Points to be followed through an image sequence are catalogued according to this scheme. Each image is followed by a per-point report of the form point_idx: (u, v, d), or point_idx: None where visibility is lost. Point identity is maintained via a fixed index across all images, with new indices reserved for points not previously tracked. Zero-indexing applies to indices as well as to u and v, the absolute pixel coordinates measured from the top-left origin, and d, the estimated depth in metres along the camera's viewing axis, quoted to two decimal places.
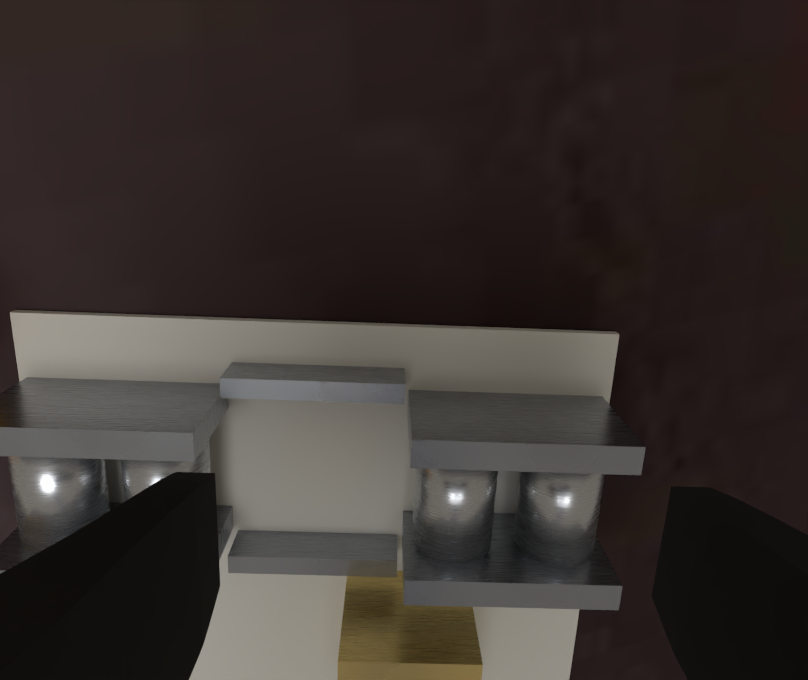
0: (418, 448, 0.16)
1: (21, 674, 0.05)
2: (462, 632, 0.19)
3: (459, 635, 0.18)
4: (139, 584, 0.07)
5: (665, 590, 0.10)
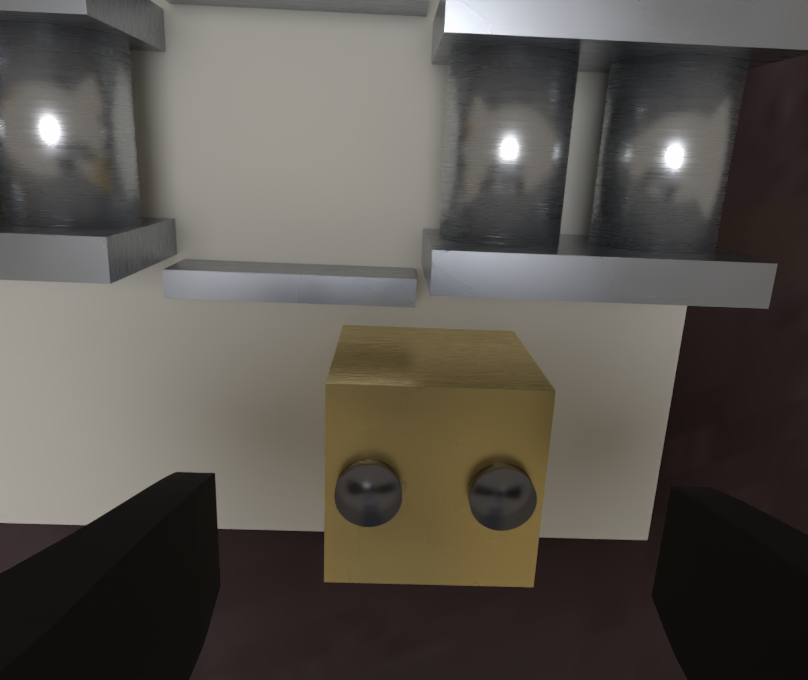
0: None
1: (21, 674, 0.05)
2: (517, 368, 0.12)
3: (513, 369, 0.12)
4: (139, 584, 0.07)
5: (665, 590, 0.10)
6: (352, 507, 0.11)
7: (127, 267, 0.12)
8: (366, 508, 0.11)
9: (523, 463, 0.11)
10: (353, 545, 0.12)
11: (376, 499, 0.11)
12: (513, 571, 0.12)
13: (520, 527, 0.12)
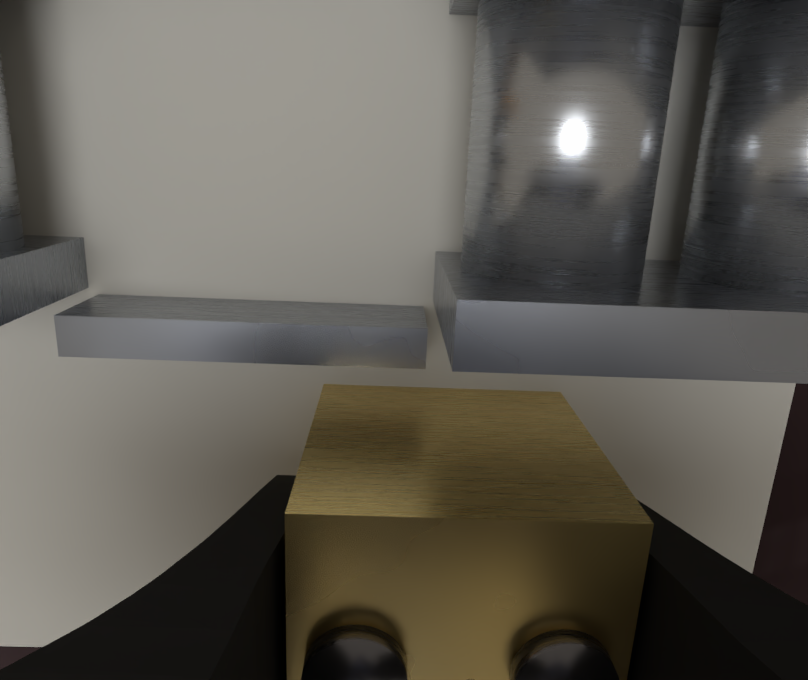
0: None
1: (218, 678, 0.05)
2: (582, 469, 0.08)
3: (575, 474, 0.08)
4: (275, 587, 0.07)
5: None
6: None
7: None
8: None
9: (597, 629, 0.07)
10: None
11: None
12: None
13: None
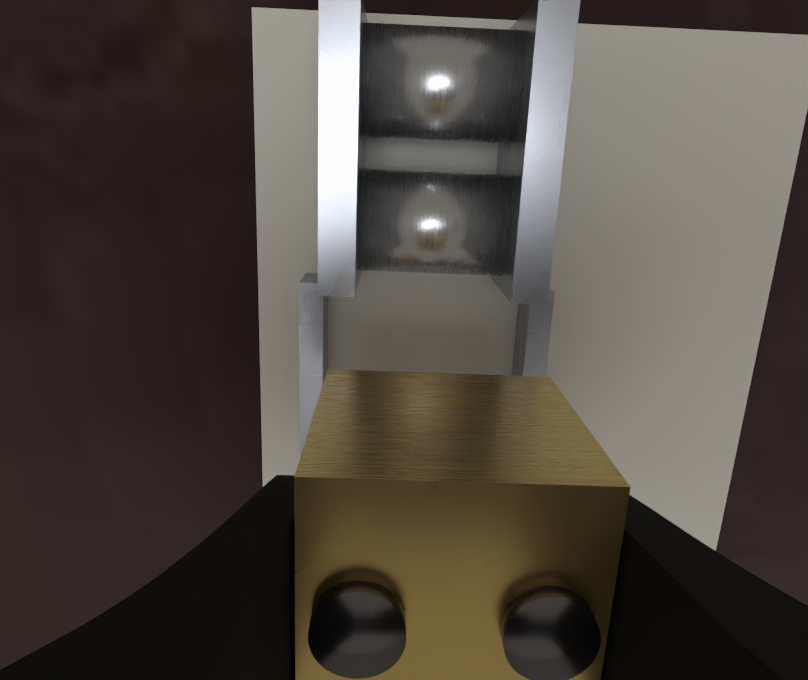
0: (327, 288, 0.14)
1: (218, 678, 0.05)
2: (567, 442, 0.09)
3: (561, 445, 0.09)
4: (275, 587, 0.07)
5: None
6: (334, 652, 0.08)
7: None
8: (355, 653, 0.08)
9: (580, 586, 0.08)
10: None
11: (369, 642, 0.08)
12: None
13: None
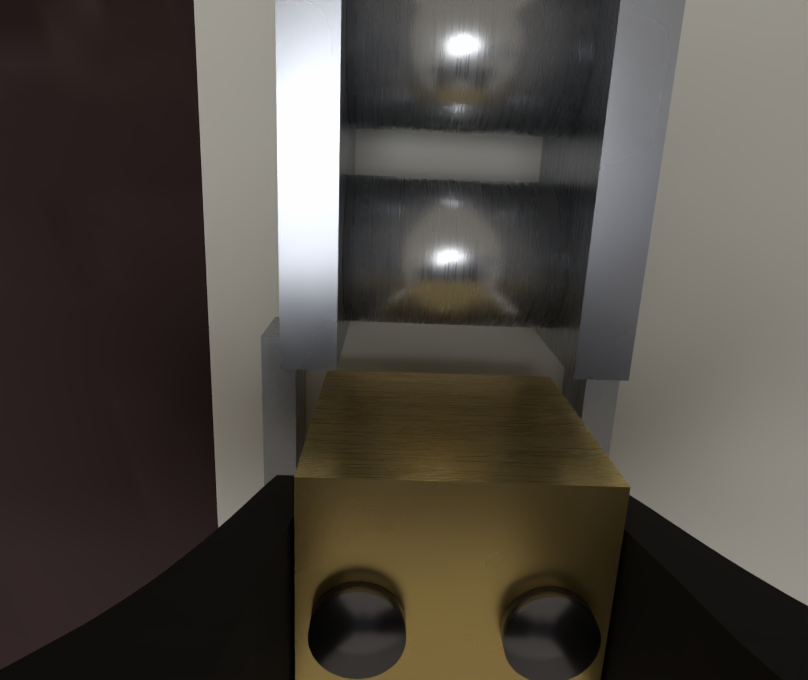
0: (295, 357, 0.09)
1: (218, 679, 0.05)
2: (567, 442, 0.09)
3: (562, 445, 0.09)
4: (275, 588, 0.07)
5: None
6: (334, 652, 0.08)
7: None
8: (355, 653, 0.08)
9: (580, 586, 0.08)
10: None
11: (369, 642, 0.08)
12: None
13: None
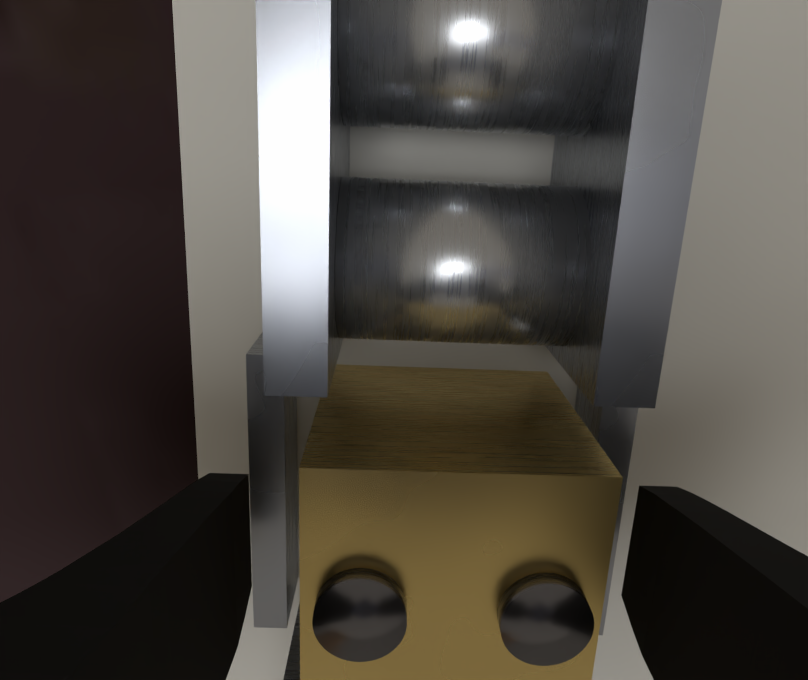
0: (281, 382, 0.08)
1: (87, 676, 0.05)
2: (562, 434, 0.09)
3: (557, 438, 0.09)
4: (185, 585, 0.07)
5: (633, 589, 0.10)
6: (337, 636, 0.08)
7: None
8: (357, 637, 0.08)
9: (574, 573, 0.08)
10: (340, 679, 0.09)
11: (371, 627, 0.08)
12: None
13: None
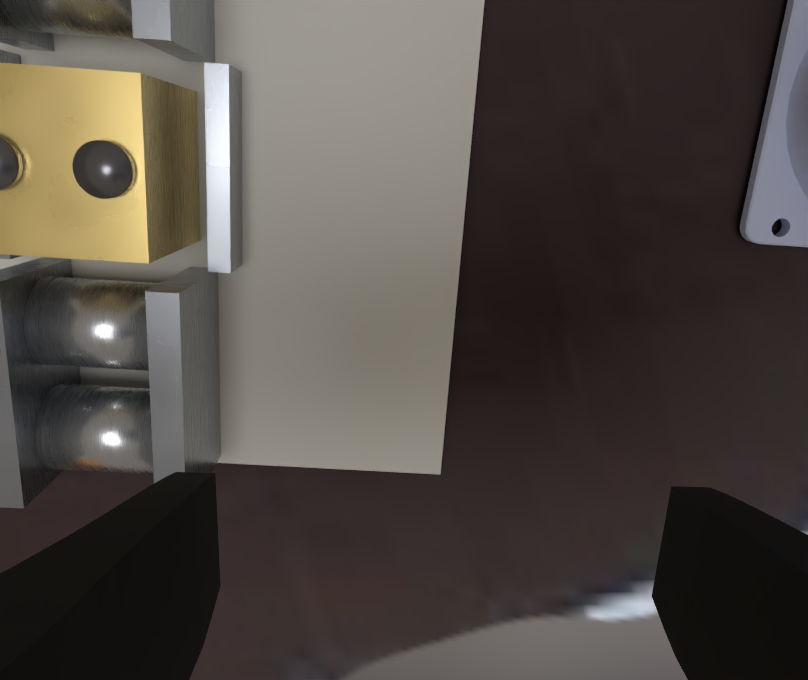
0: None
1: (21, 674, 0.05)
2: None
3: None
4: (139, 584, 0.07)
5: (665, 590, 0.10)
6: None
7: (182, 286, 0.16)
8: None
9: (123, 142, 0.14)
10: None
11: None
12: (129, 247, 0.14)
13: (128, 203, 0.14)
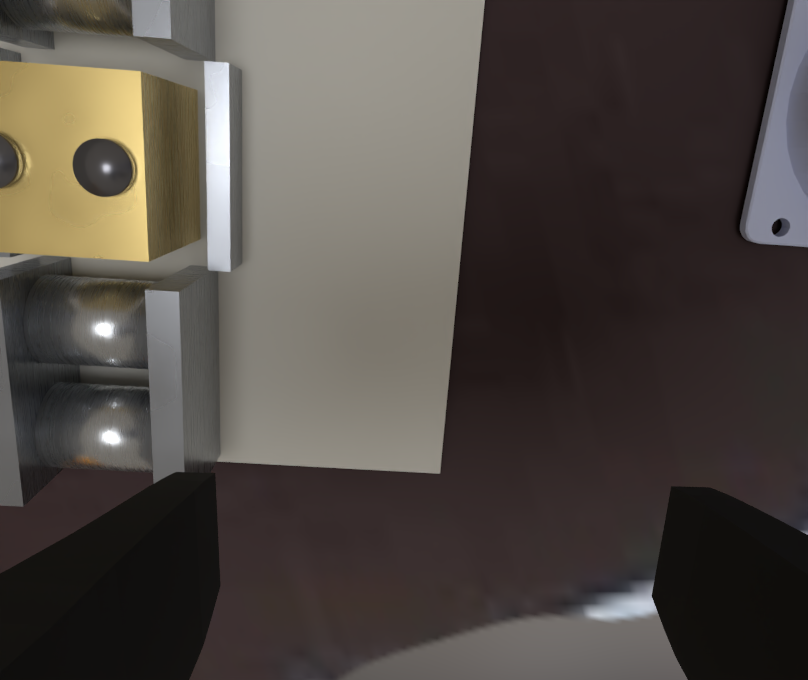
0: None
1: (21, 674, 0.05)
2: None
3: None
4: (139, 584, 0.07)
5: (665, 590, 0.10)
6: None
7: (182, 285, 0.16)
8: None
9: (123, 140, 0.14)
10: None
11: None
12: (129, 245, 0.14)
13: (128, 201, 0.14)
